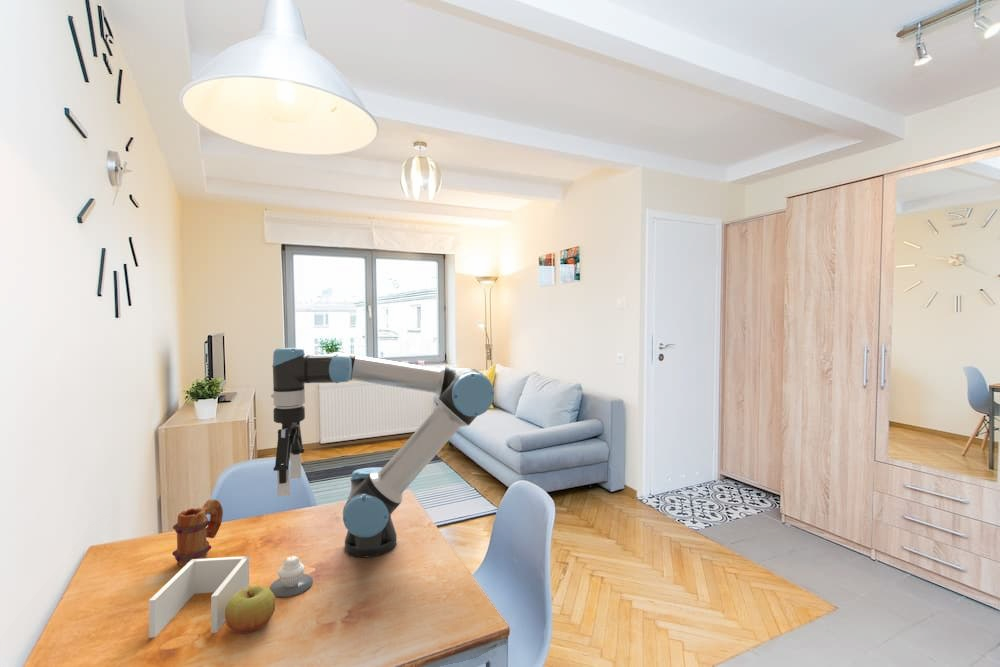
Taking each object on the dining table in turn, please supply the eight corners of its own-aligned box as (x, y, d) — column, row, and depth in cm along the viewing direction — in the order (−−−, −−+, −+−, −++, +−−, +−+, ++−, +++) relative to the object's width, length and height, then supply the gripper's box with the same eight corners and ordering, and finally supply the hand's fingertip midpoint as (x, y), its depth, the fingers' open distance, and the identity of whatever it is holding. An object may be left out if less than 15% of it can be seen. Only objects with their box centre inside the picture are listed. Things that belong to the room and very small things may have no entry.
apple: (221, 645, 95) (221, 607, 95) (228, 618, 104) (228, 583, 103) (274, 633, 99) (274, 596, 99) (276, 607, 108) (276, 574, 107)
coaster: (316, 574, 122) (316, 572, 122) (306, 596, 112) (306, 594, 112) (277, 576, 121) (277, 574, 121) (263, 599, 111) (263, 596, 111)
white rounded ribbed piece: (285, 577, 120) (285, 550, 120) (308, 577, 119) (308, 551, 119) (273, 590, 113) (273, 562, 113) (297, 591, 113) (297, 563, 113)
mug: (189, 572, 122) (189, 516, 122) (164, 569, 124) (164, 514, 124) (232, 547, 136) (232, 497, 136) (208, 544, 138) (208, 494, 138)
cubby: (249, 587, 116) (249, 556, 116) (217, 632, 99) (217, 595, 99) (191, 591, 114) (191, 559, 114) (148, 637, 97) (148, 600, 97)
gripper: (285, 399, 132) (286, 472, 133) (259, 415, 108) (260, 505, 108) (313, 398, 134) (313, 470, 134) (293, 414, 110) (294, 502, 110)
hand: (290, 486), depth 121 cm, fingers open, 13 cm apart
